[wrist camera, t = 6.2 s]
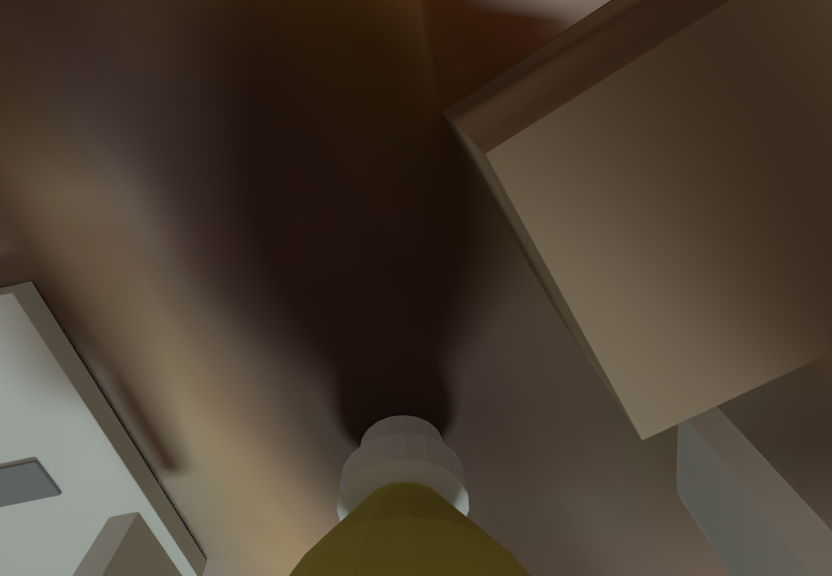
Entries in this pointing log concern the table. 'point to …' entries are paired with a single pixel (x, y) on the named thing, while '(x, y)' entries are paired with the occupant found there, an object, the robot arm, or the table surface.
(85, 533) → the pad
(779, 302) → the walnut block
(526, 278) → the table surface
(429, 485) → the light bulb
